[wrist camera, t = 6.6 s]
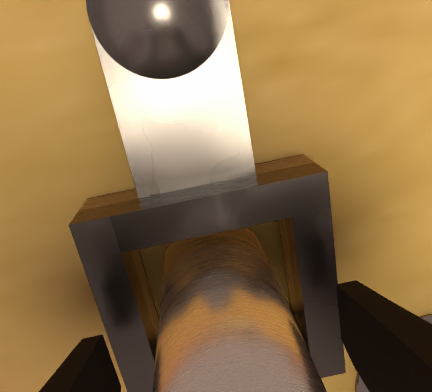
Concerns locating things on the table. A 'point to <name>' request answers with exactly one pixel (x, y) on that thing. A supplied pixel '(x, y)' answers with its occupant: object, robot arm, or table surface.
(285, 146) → the table surface
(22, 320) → the table surface
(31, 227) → the table surface
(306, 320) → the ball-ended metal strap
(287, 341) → the steel pin
